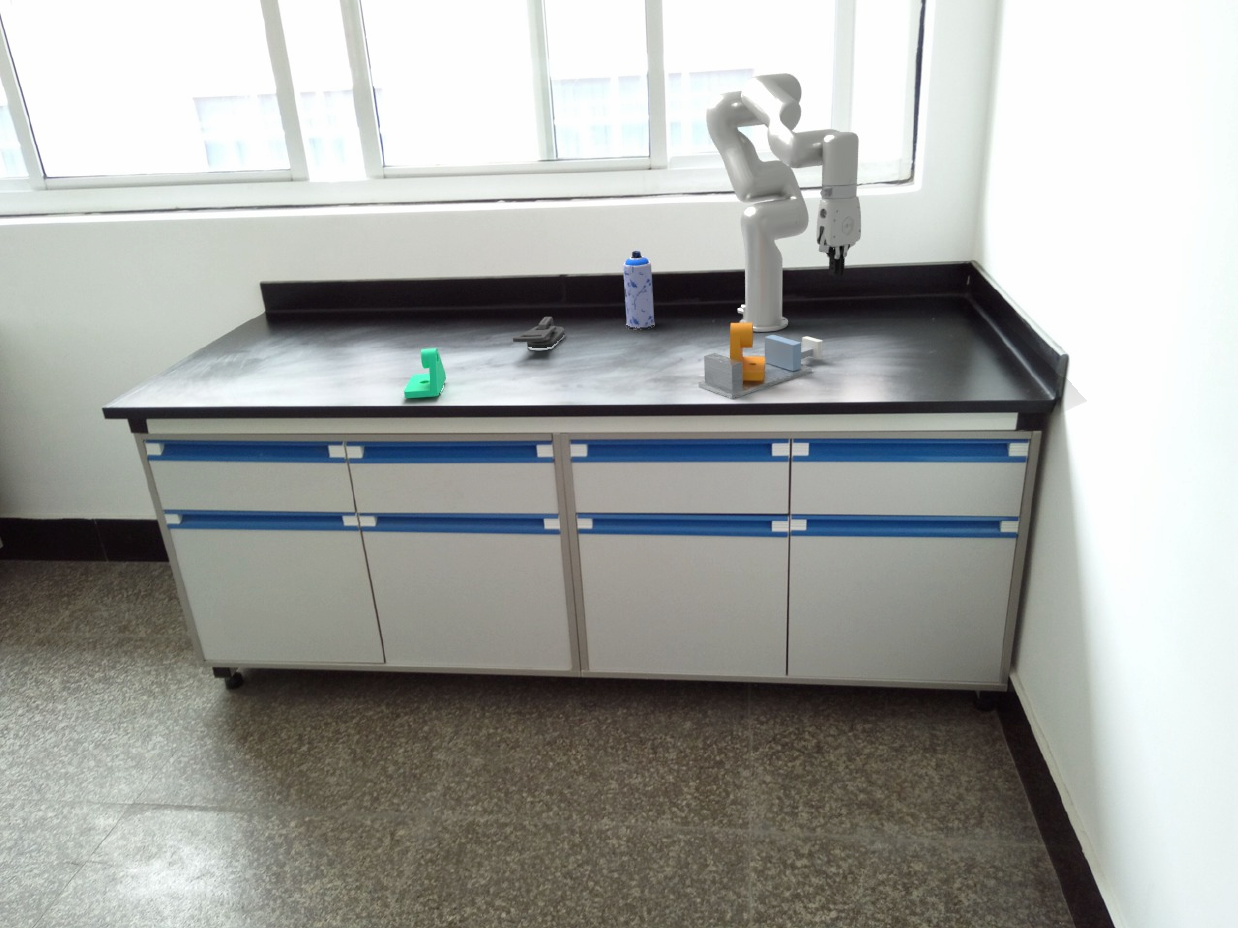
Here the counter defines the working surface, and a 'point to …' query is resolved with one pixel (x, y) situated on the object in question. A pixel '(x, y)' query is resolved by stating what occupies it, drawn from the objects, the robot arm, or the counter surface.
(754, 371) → the bracket
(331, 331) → the counter surface
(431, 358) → the camera mount
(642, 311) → the aerosol can
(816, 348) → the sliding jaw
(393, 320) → the counter surface
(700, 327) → the counter surface
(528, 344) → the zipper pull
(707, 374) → the vise
